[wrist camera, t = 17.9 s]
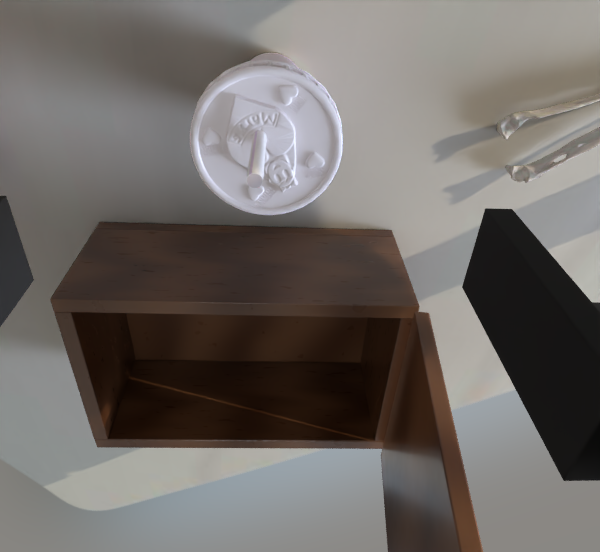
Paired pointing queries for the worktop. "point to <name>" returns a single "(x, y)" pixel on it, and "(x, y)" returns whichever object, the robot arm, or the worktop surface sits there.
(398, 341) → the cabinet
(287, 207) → the smoothie
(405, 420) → the wooden panel
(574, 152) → the tweezers
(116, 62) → the worktop surface
